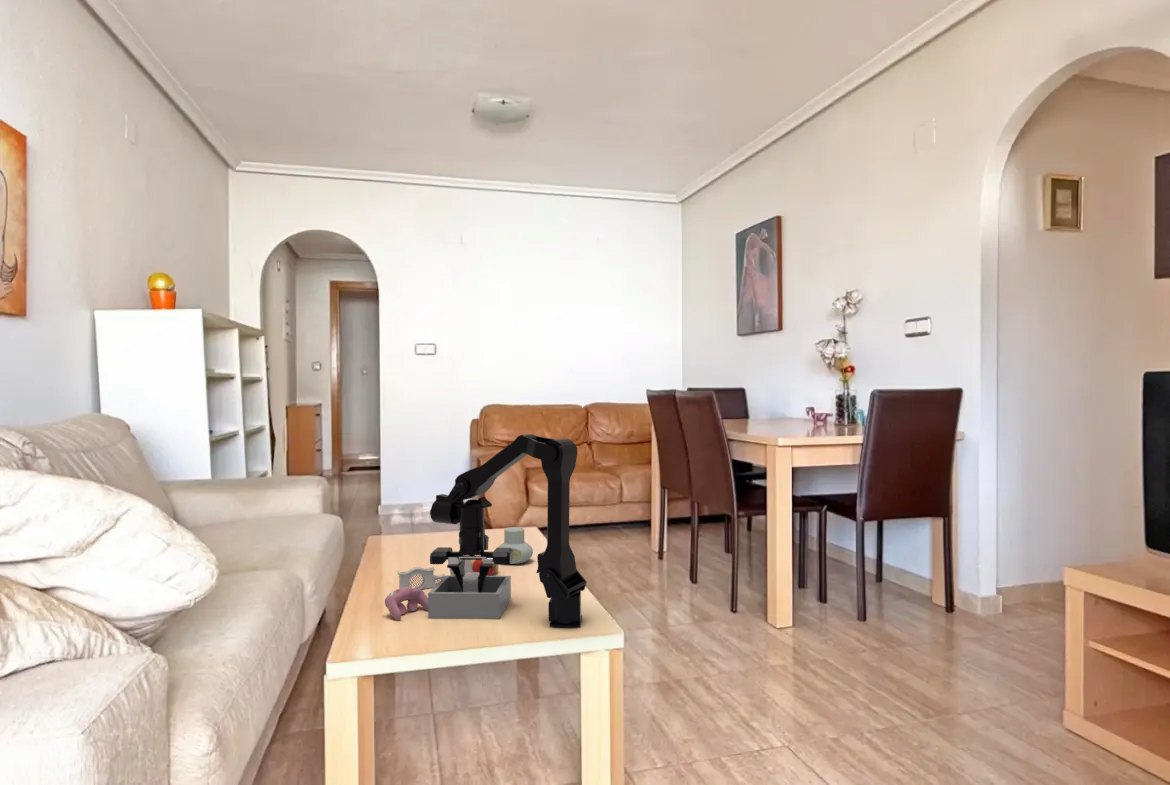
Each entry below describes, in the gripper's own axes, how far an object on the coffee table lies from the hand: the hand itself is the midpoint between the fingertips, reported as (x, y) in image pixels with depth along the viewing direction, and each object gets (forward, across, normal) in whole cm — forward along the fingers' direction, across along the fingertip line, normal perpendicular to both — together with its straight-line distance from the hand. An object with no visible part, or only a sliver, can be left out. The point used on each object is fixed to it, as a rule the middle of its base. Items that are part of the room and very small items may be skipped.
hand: (472, 592), depth 158 cm
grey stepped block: (+1, 0, +2) cm, 2 cm away
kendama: (+4, +3, -31) cm, 31 cm away
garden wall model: (+4, +16, -14) cm, 22 cm away
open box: (+3, 0, +1) cm, 3 cm away
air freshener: (+4, -3, -42) cm, 43 cm away
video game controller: (+4, +14, +6) cm, 15 cm away
